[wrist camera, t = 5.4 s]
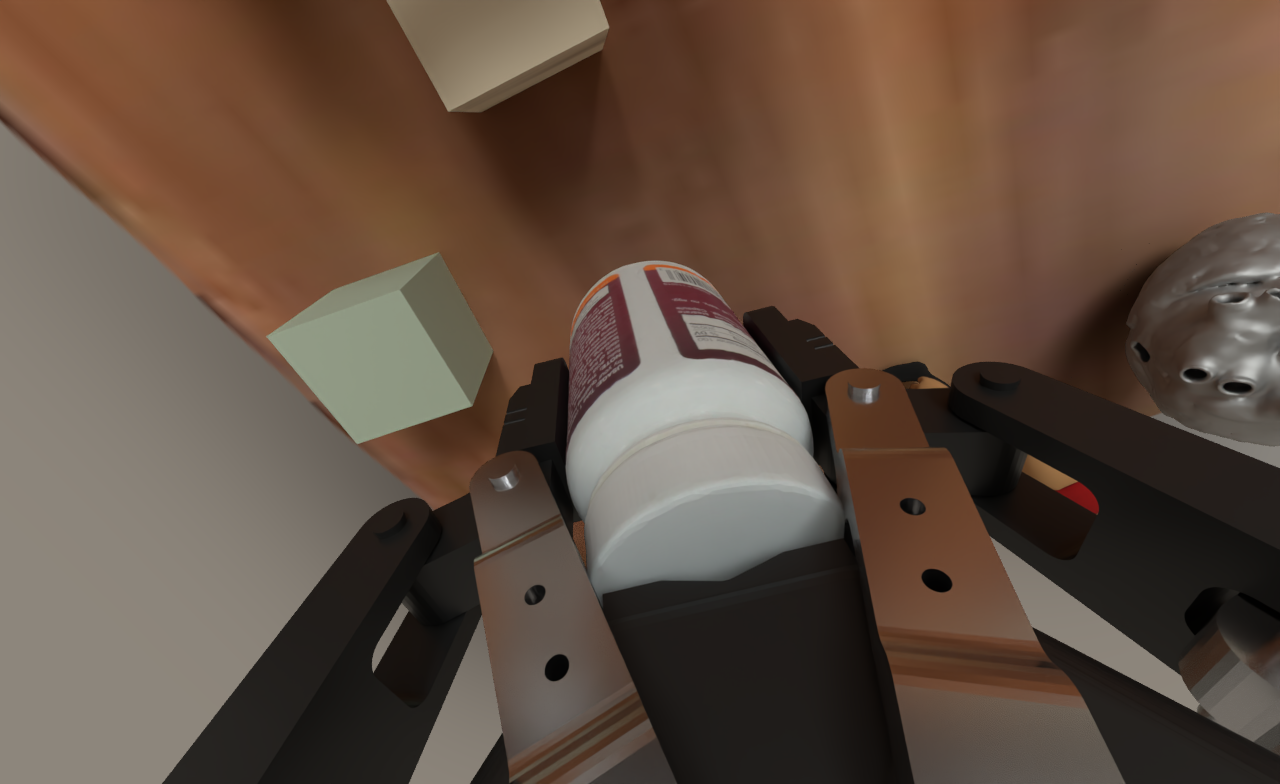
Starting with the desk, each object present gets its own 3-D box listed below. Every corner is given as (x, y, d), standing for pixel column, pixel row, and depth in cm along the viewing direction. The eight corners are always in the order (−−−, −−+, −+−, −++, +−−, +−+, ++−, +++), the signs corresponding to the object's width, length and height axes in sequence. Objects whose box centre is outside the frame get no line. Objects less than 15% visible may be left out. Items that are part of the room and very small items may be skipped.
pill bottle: (603, 420, 15) (623, 697, 8) (543, 290, 12) (496, 531, 5) (741, 374, 15) (888, 624, 8) (708, 231, 12) (886, 408, 5)
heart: (1044, 414, 28) (1372, 559, 17) (1011, 300, 23) (1430, 403, 13) (1187, 303, 27) (1626, 385, 16) (1182, 162, 22) (1789, 148, 12)
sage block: (334, 289, 20) (266, 336, 16) (439, 251, 19) (399, 289, 15) (399, 381, 22) (356, 444, 18) (493, 350, 22) (472, 405, 18)
